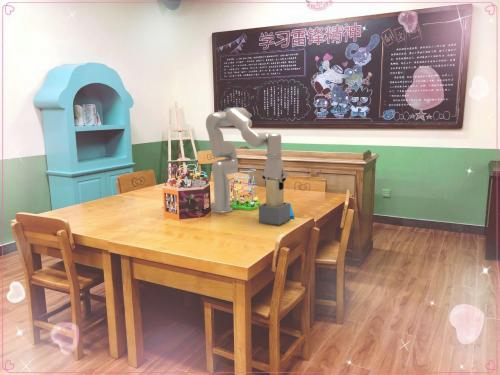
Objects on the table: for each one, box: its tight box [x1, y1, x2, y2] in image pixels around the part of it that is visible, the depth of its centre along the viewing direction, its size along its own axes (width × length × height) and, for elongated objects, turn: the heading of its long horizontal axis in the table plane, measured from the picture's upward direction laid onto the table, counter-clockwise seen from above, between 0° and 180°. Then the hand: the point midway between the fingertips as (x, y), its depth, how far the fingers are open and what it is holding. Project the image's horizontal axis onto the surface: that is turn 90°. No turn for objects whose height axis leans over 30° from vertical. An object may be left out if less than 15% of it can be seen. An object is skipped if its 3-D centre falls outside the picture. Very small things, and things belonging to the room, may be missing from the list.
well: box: [258, 201, 291, 227], centre depth 229 cm, size 12×13×10 cm
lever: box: [289, 202, 295, 220], centre depth 245 cm, size 7×7×18 cm
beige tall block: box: [265, 178, 285, 207], centre depth 228 cm, size 8×7×21 cm
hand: (274, 188), depth 227 cm, fingers closed on beige tall block, 7 cm apart
